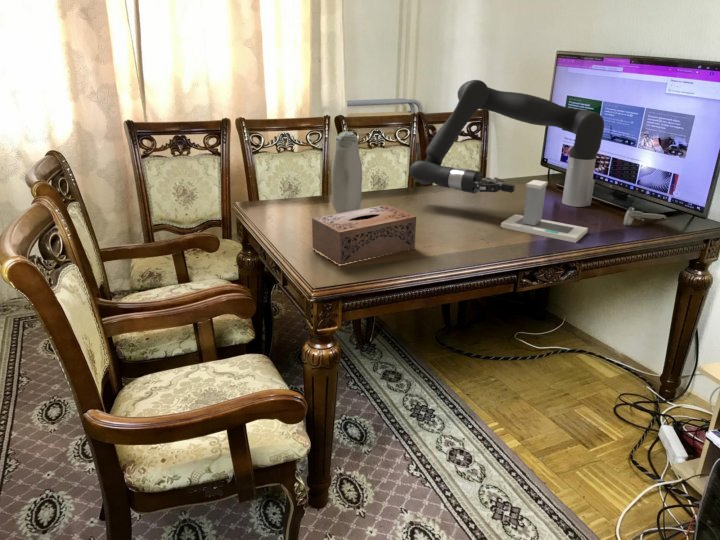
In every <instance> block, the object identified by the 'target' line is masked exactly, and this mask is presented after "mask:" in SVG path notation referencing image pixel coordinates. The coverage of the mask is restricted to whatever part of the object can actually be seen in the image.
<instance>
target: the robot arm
mask: <svg viewBox="0 0 720 540" xmlns="http://www.w3.org/2000/svg"><path fill="white" fill-rule="evenodd" d="M457 99H458V102H457V104H456V106H455V108H454V110H453V112H452V113H451V114H450V115H449V117H448V119H446V121H445V122H444V123H443V124H442V126H441V127H440V128H439V129H438V130H437V132H435V135H434V136H433V137H432V138H431V141H430V143H428V145H427V147H426V150H425V154H426V158H425V159H424V160H417V161H414V162H413V163H412V164H411V165H410V167H409V174H410V177H411V178H412V179H413V180H414V181H416V182H418V183H419V184H422V185H426V186H427V185H429V184H435V185H436V186H439V187H441V188H447V189H451V190H455V191H459V192H463V193H464V192H465V193H470V194H478V192H479V193H498V192H505V193H511V194H512V193H515V189H516V187H515V185H514V184H510V183H505V182H506V181H505V180H502V179H500V178H499V177H497V176H496V177H494V178H491V177H489V176H485V177H483V175H482V172H481V171H479V170H473V169H469V168H461V167H451V166H446V165H445V166H443V165H442V164H443V161H444V159H445V158H446V156H447V155H448V153H449V151H450V150H451V148H452V147H453V145H454V144H455V142H456V141H457V138H458V137H459V135H460V134H461V133H462V131H463V129H465V126H467V124H468V122H469V121H470V120H471V119H472V117H473V116H474V115H475V114H476V113H477V112H478V110H483V111H487V112H488V111H489V112H494V113H496V114H499V115H501V116H504V117H507V118H509V119H512V120H515V121H519V122H523V123H526V124H529V125H535V126H540V127H541V126H544V127H554V128H555V127H556V128H559V129H561V130H565V131H567V132H570V133H572V134H573V135H575V139H574V143H573V146H572V147H571V148H569V153H568V160H567V165H566V173H565V180H564V187H563V192H562V199H561V203H562V204H563V205H566V206H569V207H576V208H582V207H583V208H585V207H588V206H589V207H590V206H591V204H592V198H593V194H594V193H593V192H594V186H595V179H593V178H594V172H595V167H596V160H597V156H598V155H597V154H598V153H599V151H600V149H601V145H602V144H601V143H602V140H603V136H604V135H603V134H604V130H605V121H604V118H603V117H602V116H601V115H600V114H599V113H597V112H595V111H592V110H589V109H582V108H573V107H568V106H563V105H559V104H558V103H555V102H553V101H551V100H548V99H546V98H543V97H539V96H537V95H536V96H535V95H532V94H526V93H523V92H522V93H521V92H512V91H504V90H503V91H502V90H497V89H495V88H491V87H488V85H487V84H486V82H485V81H483V80H480V79H473V80H467V81H465V82H464V83H463V84H462V85H461V86H460V87H459V89H458V90H457Z"/></svg>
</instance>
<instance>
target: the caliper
mask: <svg viewBox="0 0 720 540" xmlns="http://www.w3.org/2000/svg"><path fill="white" fill-rule="evenodd" d="M624 214H625V215H624V218H623V226H631V225H632V223H633V222H634V220H639V221H641V219H642V218H643V219H654V220H662V219H661V218H664V219H668V217H667V216H666V215H664V214H658V213H649V212H648V213H644V212H643V211H639V210H635V207H631V206H630V207H629V208H628V210H626V212H625V213H624Z"/></svg>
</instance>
